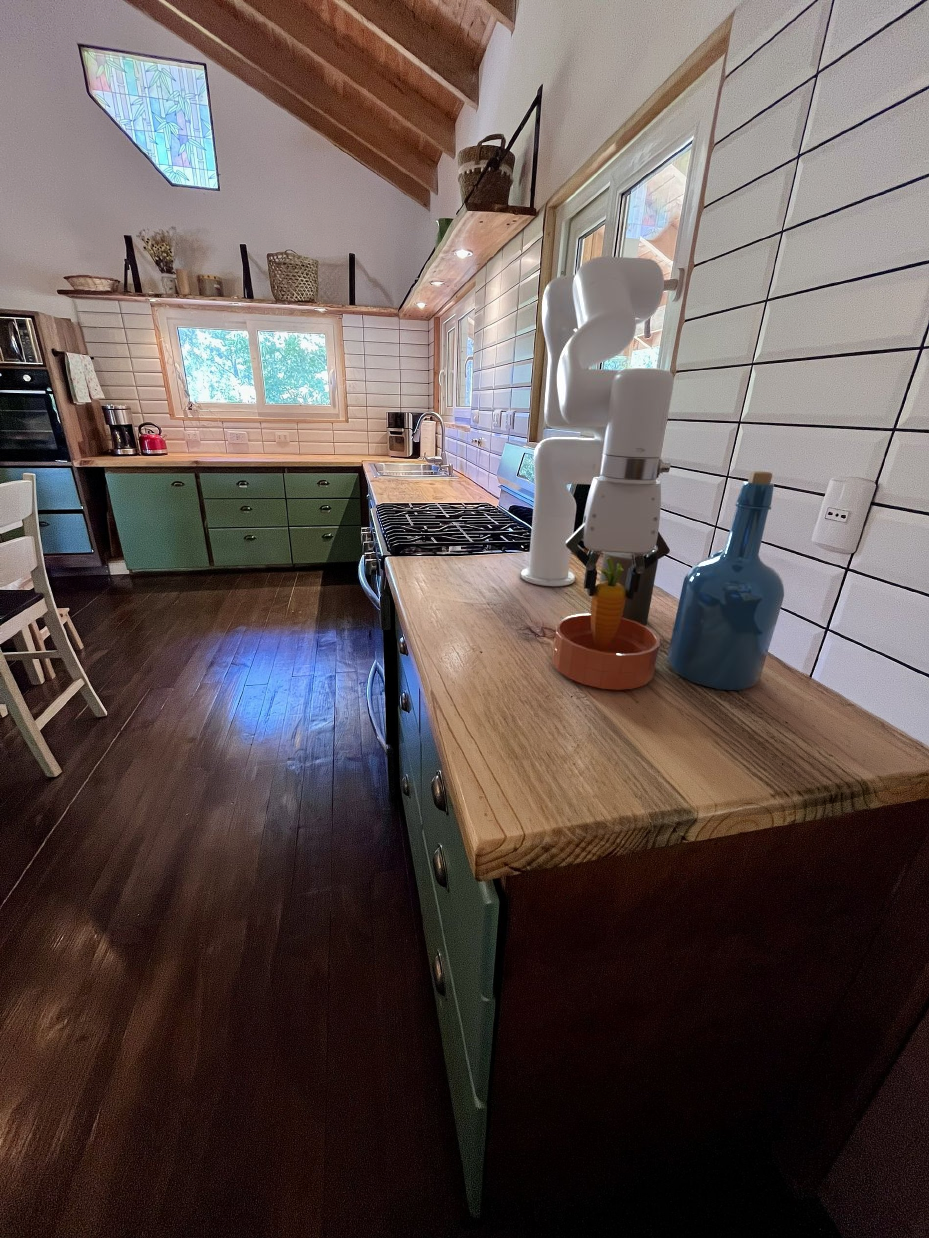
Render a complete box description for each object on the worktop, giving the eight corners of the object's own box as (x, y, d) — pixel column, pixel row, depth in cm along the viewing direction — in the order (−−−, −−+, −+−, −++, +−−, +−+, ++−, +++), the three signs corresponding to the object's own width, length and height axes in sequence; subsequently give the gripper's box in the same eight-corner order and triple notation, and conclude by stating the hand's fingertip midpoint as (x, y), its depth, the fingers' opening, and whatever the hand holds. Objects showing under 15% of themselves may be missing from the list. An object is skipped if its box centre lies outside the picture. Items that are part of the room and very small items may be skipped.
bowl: (550, 642, 85) (553, 610, 83) (641, 650, 83) (647, 617, 81) (554, 687, 71) (558, 650, 69) (663, 697, 70) (671, 659, 67)
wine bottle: (769, 701, 70) (838, 481, 58) (668, 684, 73) (715, 473, 61) (748, 659, 82) (801, 470, 70) (663, 646, 85) (700, 464, 74)
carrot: (617, 660, 76) (634, 566, 70) (584, 657, 77) (598, 563, 71) (615, 646, 80) (630, 557, 75) (583, 643, 81) (596, 554, 75)
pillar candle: (651, 633, 90) (667, 553, 84) (596, 629, 91) (608, 549, 85) (640, 613, 99) (654, 540, 93) (591, 610, 100) (601, 536, 94)
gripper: (685, 469, 70) (661, 590, 77) (564, 464, 72) (551, 582, 79) (702, 476, 63) (674, 608, 71) (567, 469, 65) (553, 599, 72)
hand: (609, 593), depth 75 cm, fingers closed on carrot, 5 cm apart
